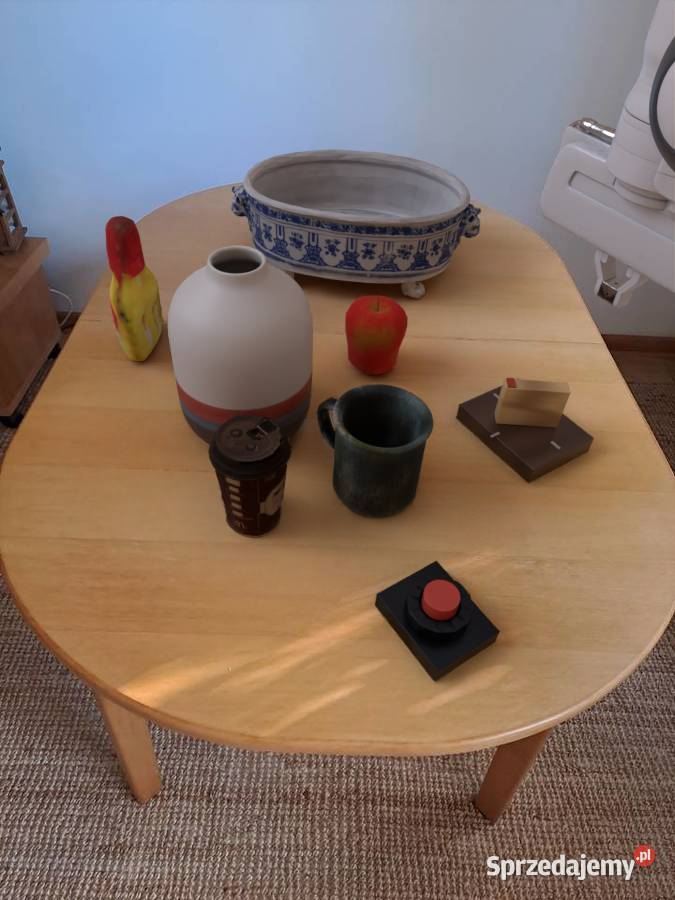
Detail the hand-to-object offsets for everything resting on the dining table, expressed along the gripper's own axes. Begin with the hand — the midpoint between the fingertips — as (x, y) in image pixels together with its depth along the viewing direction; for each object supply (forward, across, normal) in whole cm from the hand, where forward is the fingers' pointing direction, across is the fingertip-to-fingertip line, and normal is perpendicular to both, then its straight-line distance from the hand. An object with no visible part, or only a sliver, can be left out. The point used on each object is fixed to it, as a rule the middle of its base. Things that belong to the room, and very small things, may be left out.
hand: (609, 299), depth 64 cm
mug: (+27, -12, -18) cm, 35 cm away
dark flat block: (+27, -8, +5) cm, 29 cm away
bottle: (+27, -51, -31) cm, 66 cm away
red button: (+24, +8, -23) cm, 34 cm away
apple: (+27, -30, -4) cm, 41 cm away
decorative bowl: (+27, -56, +10) cm, 63 cm away
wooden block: (+25, -8, +5) cm, 26 cm away
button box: (+27, +8, -23) cm, 36 cm away
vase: (+27, -29, -25) cm, 47 cm away
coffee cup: (+27, -14, -32) cm, 44 cm away
